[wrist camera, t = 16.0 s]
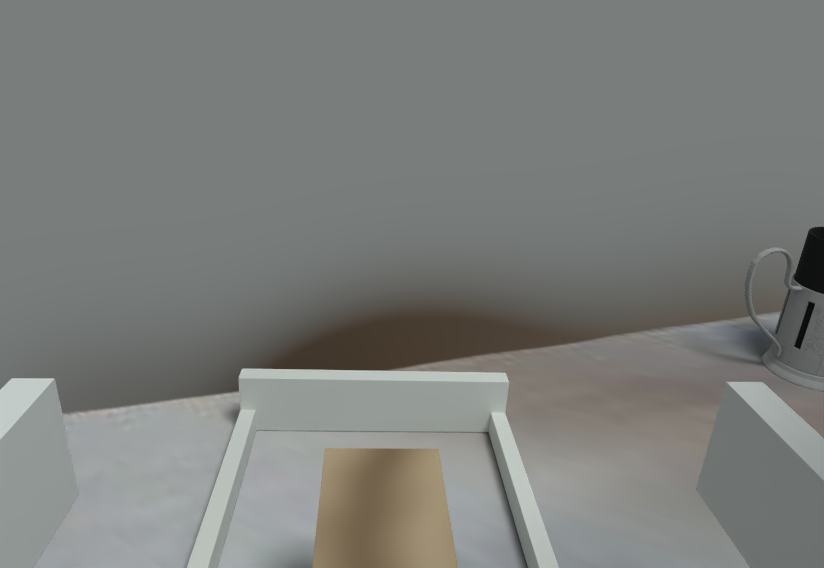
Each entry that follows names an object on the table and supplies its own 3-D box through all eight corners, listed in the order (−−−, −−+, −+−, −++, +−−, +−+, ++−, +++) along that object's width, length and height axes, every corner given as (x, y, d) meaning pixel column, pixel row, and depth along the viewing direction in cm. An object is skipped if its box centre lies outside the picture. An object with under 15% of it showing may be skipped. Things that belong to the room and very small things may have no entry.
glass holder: (875, 392, 63) (931, 254, 57) (745, 392, 61) (789, 251, 55) (815, 350, 71) (859, 225, 65) (699, 350, 69) (733, 222, 63)
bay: (498, 422, 54) (505, 372, 52) (623, 806, 27) (646, 734, 26) (245, 419, 52) (242, 368, 50) (114, 826, 26) (97, 751, 24)
